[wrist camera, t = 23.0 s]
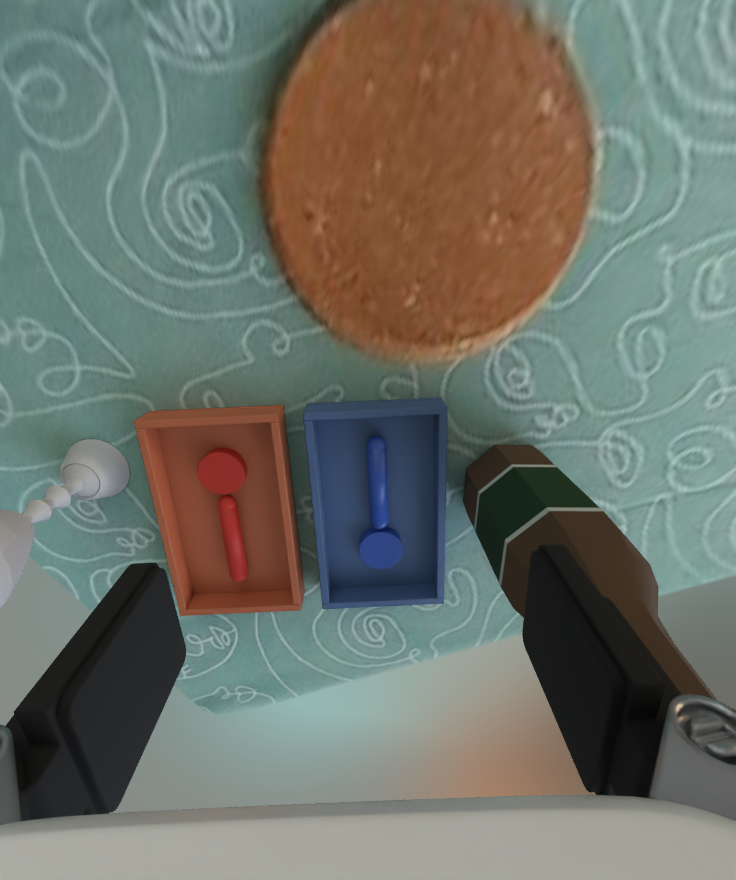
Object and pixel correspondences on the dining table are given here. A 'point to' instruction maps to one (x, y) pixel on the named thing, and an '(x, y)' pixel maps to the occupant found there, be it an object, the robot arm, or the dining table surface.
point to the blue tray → (409, 498)
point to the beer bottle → (577, 527)
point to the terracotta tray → (196, 512)
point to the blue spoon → (379, 512)
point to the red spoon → (227, 502)
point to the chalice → (59, 502)
